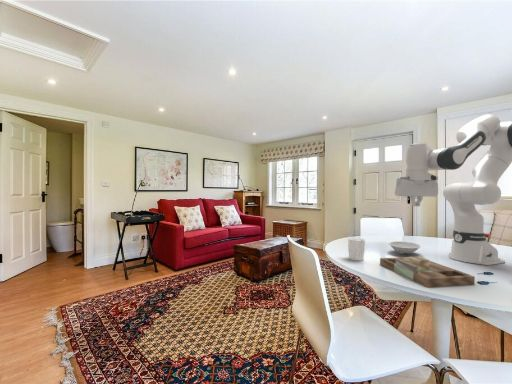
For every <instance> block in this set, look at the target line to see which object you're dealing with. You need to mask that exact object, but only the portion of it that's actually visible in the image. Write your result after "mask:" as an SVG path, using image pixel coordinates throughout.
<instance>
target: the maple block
mask: <svg viewBox="0 0 512 384" xmlns="http://www.w3.org/2000/svg"><path fill="white" fill-rule="evenodd" d="M408 257H409V263H410V264H413V265H415V266H418V271H420V270H429V261H430V259H427V258H424V257H421V256H408Z"/></svg>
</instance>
